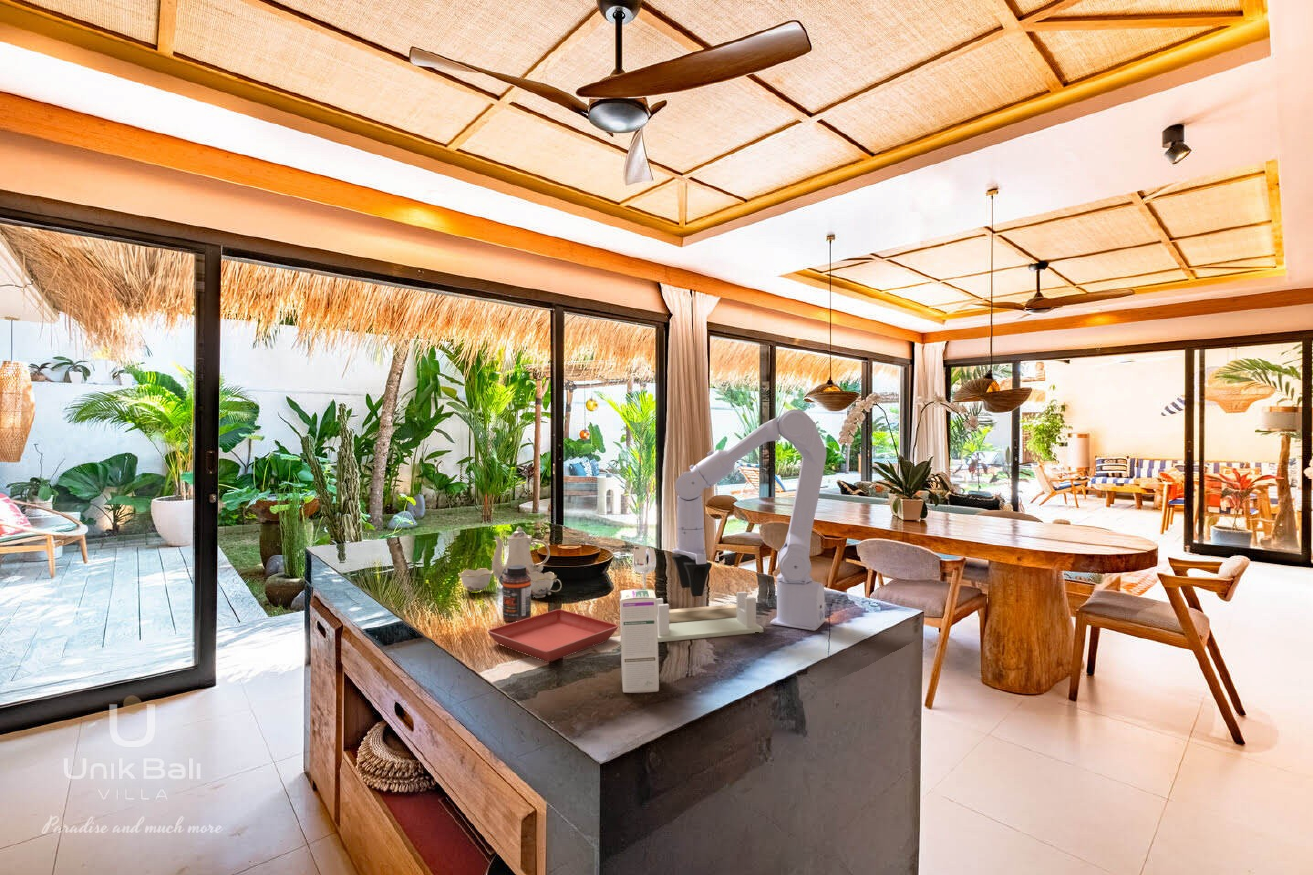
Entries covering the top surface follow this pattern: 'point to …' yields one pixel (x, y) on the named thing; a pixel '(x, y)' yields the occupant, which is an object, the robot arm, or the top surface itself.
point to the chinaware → (516, 556)
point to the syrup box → (639, 641)
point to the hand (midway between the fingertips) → (691, 591)
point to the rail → (702, 613)
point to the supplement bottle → (516, 594)
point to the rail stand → (709, 622)
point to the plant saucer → (553, 634)
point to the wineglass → (644, 561)
